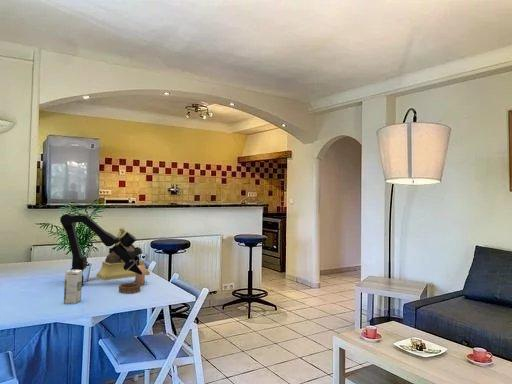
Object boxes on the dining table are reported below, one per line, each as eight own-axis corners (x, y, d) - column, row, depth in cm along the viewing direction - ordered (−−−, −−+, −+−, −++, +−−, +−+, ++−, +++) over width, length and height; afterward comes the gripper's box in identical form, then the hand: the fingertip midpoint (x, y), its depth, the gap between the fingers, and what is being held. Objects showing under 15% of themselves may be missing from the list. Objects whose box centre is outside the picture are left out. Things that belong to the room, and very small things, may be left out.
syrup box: (68, 300, 179) (69, 269, 179) (81, 300, 180) (82, 269, 180) (63, 303, 174) (64, 271, 174) (76, 303, 174) (77, 271, 174)
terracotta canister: (138, 286, 209) (138, 266, 209) (133, 284, 212) (133, 265, 212) (146, 285, 212) (146, 265, 213) (141, 283, 216) (141, 264, 216)
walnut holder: (125, 294, 191) (125, 288, 191) (115, 290, 198) (115, 285, 198) (144, 291, 199) (144, 285, 199) (133, 287, 206) (133, 282, 206)
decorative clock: (104, 280, 221) (105, 229, 221) (96, 276, 231) (98, 227, 231) (149, 275, 239) (150, 227, 240) (141, 271, 249) (142, 225, 250)
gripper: (130, 245, 203) (151, 265, 204) (136, 240, 221) (155, 260, 223) (114, 260, 202) (135, 280, 203) (122, 254, 220) (141, 273, 221)
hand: (142, 273), depth 213 cm, fingers closed on terracotta canister, 5 cm apart
